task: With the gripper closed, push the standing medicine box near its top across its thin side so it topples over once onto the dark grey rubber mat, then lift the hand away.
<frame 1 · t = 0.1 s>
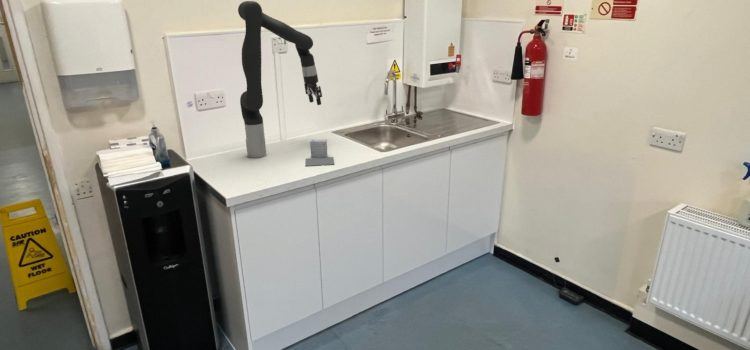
hand: (315, 103, 252), 22 cm above the counter, tool pointing down, fingers open, 8 cm apart
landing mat: (319, 162, 229), on the counter
medicine box: (319, 157, 237), on the counter
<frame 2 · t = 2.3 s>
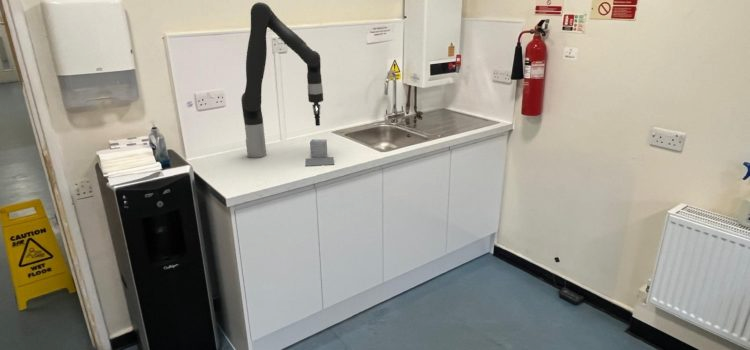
hand: (317, 125, 240), 14 cm above the counter, tool pointing down, fingers closed
nothing on the counter moved.
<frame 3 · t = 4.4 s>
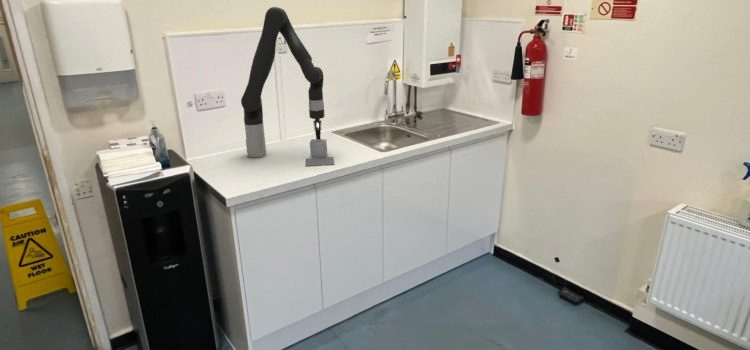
hand: (318, 141, 238), 7 cm above the counter, tool pointing down, fingers closed
medicine box: (319, 156, 237), on the counter, touching gripper
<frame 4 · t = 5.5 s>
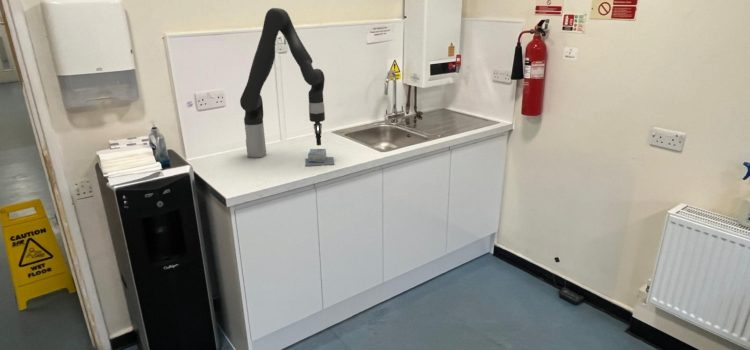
hand: (318, 144, 232), 7 cm above the counter, tool pointing down, fingers closed
medicine box: (318, 152, 235), point 3 cm above the counter, touching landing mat
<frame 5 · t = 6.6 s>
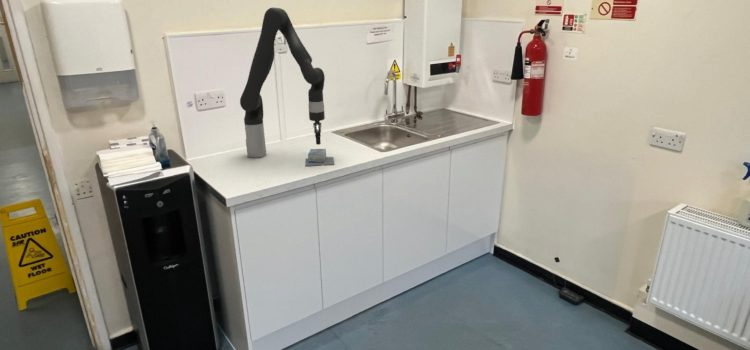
hand: (318, 144, 231), 8 cm above the counter, tool pointing down, fingers closed
nothing on the counter moved.
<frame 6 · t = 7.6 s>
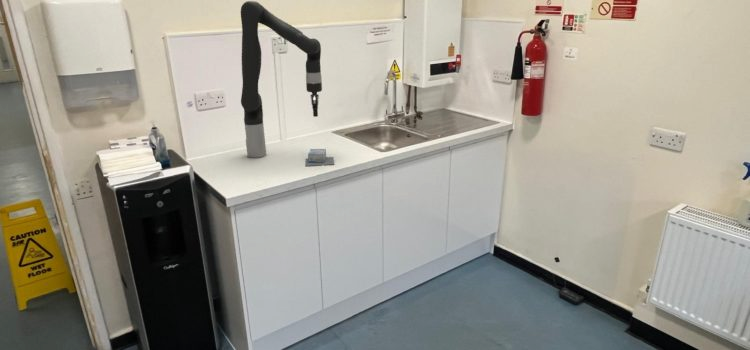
hand: (315, 116, 232), 21 cm above the counter, tool pointing down, fingers closed
nothing on the counter moved.
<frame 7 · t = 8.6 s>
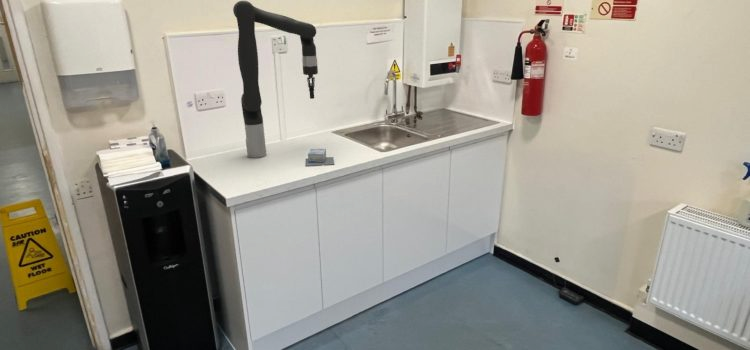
hand: (312, 98, 242), 27 cm above the counter, tool pointing down, fingers closed
nothing on the counter moved.
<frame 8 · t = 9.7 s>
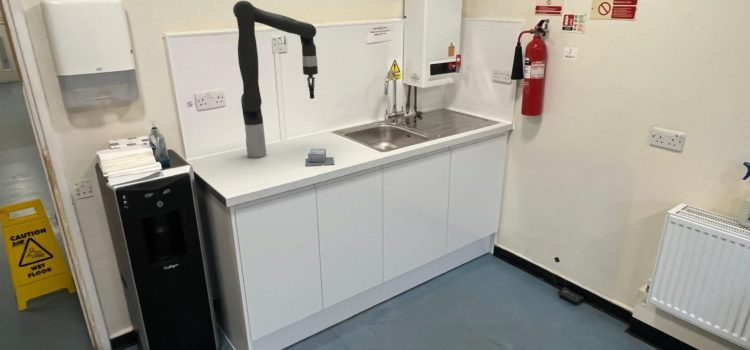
hand: (312, 98, 242), 27 cm above the counter, tool pointing down, fingers closed
nothing on the counter moved.
at the end: medicine box tilted 89°; medicine box touching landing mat; medicine box inside the target area (2.2 cm from its centre), point 2.5 cm above the counter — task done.
